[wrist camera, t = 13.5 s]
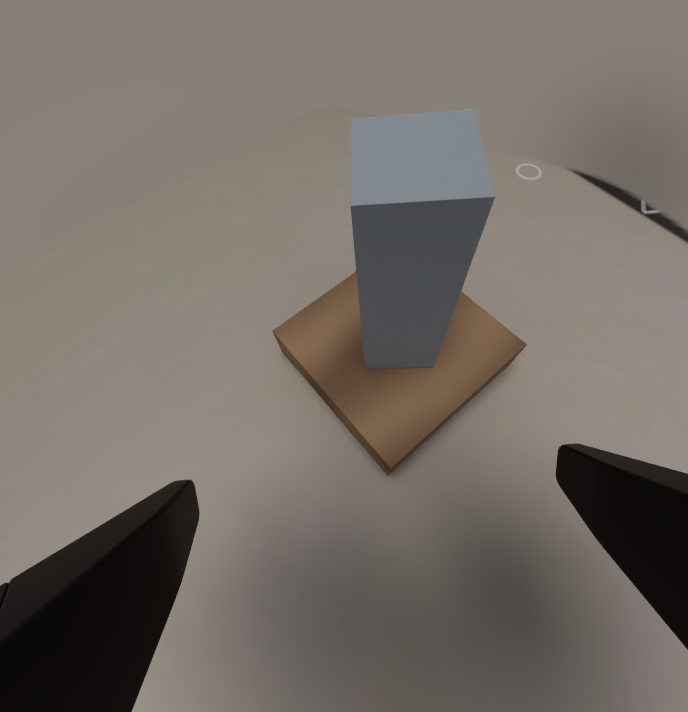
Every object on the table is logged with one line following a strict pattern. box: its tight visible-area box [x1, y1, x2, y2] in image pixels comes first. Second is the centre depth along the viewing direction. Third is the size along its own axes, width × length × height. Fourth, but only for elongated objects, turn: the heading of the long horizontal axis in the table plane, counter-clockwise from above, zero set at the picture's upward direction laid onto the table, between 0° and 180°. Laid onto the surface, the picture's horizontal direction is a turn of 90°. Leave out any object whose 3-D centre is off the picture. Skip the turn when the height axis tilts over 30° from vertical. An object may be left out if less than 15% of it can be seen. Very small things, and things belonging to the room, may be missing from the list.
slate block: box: [351, 109, 495, 369], centre depth 16 cm, size 4×4×12 cm
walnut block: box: [273, 272, 527, 475], centre depth 23 cm, size 11×11×4 cm
